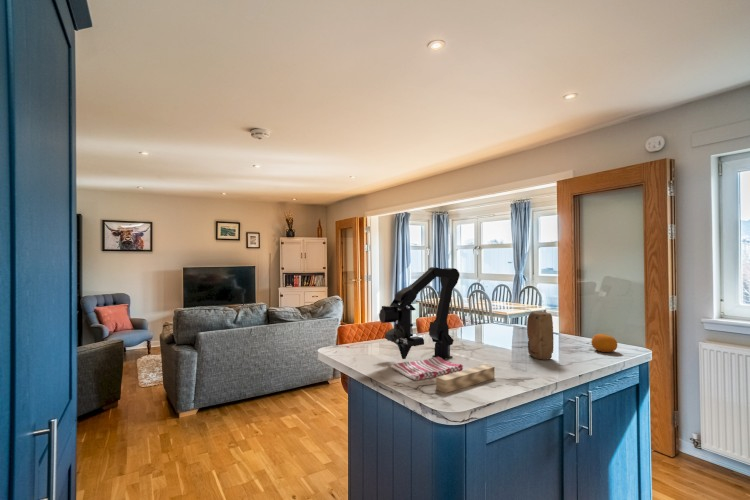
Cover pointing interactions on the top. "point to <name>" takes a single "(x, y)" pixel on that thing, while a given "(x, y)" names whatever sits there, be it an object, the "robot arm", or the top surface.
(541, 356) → the block
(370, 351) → the top surface
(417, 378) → the dish towel
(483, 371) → the tan wooden bar
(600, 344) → the fruit
